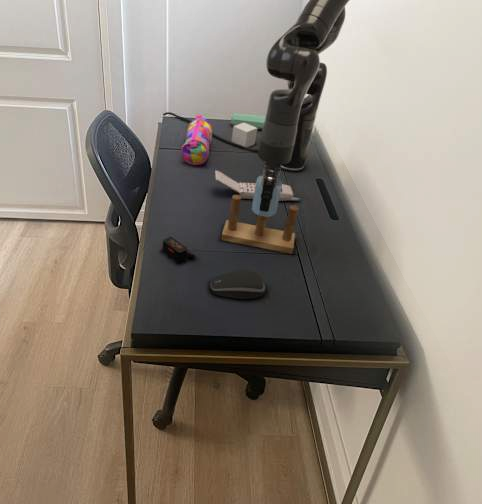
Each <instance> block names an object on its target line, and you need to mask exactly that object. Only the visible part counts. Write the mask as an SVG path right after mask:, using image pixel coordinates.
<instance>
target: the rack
mask: <svg viewBox="0 0 482 504" xmlns="http://www.w3.org/2000/svg"><path fill="white" fill-rule="evenodd" d="M241 203H242V198H241V196H240V194H233V195H232V198H231V203H230V210H229V217H228V219H226V221H225V223H224V226H223V229H222V233H221V239H220V240H221V241H225V242H228V243H229V242H230V243H234V244H240V245H243V246H249V247H254V248H260V249H265V250H269V251H274V252H280V253H285V254H290V255H293V253H294V247H295V239H296V238H295V237H296V233H295V232H294V229H295V224H296V220H297V217H298V213H299V207H298V206H297V205H294V204H293V205H292V204H291V205H290V206H289V207H288V211H287V215H286V220H285V225H284V228H283V230H281V229H275V228H271V227H266V223H267V218H268V217H264V216H260V215H257V219H256V224H249V223H245V222H239V221H238V220H239V215H240V209H241Z"/></svg>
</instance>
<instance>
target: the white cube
mask: <svg viewBox="0 0 482 504" xmlns="http://www.w3.org/2000/svg"><path fill="white" fill-rule="evenodd" d="M232 126H233V125H232ZM257 134H258V129H257V128H256V127H254V126H251V125H249V124H246V123H241V124H239V125H236V126H233V127H232V134H231V142H233V143H236V144H239V145H242V146H244V147H247V148H250V147H252V146H254V145H256V139H257Z"/></svg>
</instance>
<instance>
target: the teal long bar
mask: <svg viewBox="0 0 482 504" xmlns="http://www.w3.org/2000/svg"><path fill="white" fill-rule="evenodd" d="M265 119H266V115H258V114H248V113H242V112H241V113H240V112H235V113H233V114H232V116H231V118H230V121H231V126H236V125H239V124H241V123H246V124H249V125H251V126H254V127H256V128H257V130H258V131H259V130H261V131H262V130H263V125H264V122H265Z"/></svg>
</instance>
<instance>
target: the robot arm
mask: <svg viewBox="0 0 482 504" xmlns="http://www.w3.org/2000/svg"><path fill="white" fill-rule="evenodd" d="M349 2H350V0H308V1H307V3H306V5H305V6H304V8H303V10H302V11H301V13H300V15H299V16H298V18H297V20H296V22H295V23H294V24H293V25H292V26H291V27H290V28H289V29H288V30H286V31H285V32H284V33H283V34H282V35H281V36H280V37H279V38H278V39H277V40H276V42H274V44H273V45H272V46H271V48H270V49H269V52H268V54H267V55H266V56H267V57H266V61H265V65H266V70H267V72H268V74H269V75H270V76H271V77H274V78H277V79H279V80H284V81H286V82H287V84H286V85H287V88H285V89H284V88H281V89H275V90H273V91H272V92H271V93H270V95H269V97H268V102H267V109H266V115H265V116H266V119H265V122H264V125H263V130H261V136H260V142H259V148H257V149H256V148H251V147H244V146H242V145H239V144H236V143H233V142H231V141H232V140H231V141H230V140H228V139H225V138H223V137H221V136H219V135H217V134H215V133H214V132H212V137H215V138H217V139H218V140H221V141H223V142H224V143H227V144H229V145H233V146H235V147H238V148H241V149H244V150H247V151H250V152H254V153H255V152H257V153H258V158H259V159H260V160H261V161H263V162H264V164H263V168H262V176H263V179H262V184H261V186H262V187H263V189H262V193H261V196H260V197H261V203H260V208H259V209H260V211H264V212H268V211H269V206H270V201H271V199H272V197H273V195H272V194H273V189H275V188H276V185H277V180H278V178H279V177H280V175H281V171H282V170H283V171H288V172H300V171H303V170H304V169H305V165H306V161H307V156H308V151H309V147H310V142H311V139H312V135H313V130H314V126H315V122H316V118H317V113H318V109H319V106H320V101H321V98H322V94H323V92H324V89H325V85H326V82H327V81H326V80H327V75H328V68H327V67H328V66H327V65H326V63H324V62H321V60H320V54H321V53H322V52H325V50H327V49H328V48H330V47H331V46H332V45H333V44H334V43H335V42H336V41H337V40H338V37H339V35H340V32H341V30H342V28H343V26H344V23H345V20H346V6H347V4H348V3H349ZM166 115H171V116H173V117H175V118H177V119H180V120H183V121H185V122H188V123H189V124H190V123H191V122H192V121H193V120H191V119H188V118H186V117H183V116H181V115H178V114H176V113H173V112H170V111H166V112H164V113H163V114H162V116H166ZM264 191H269V192H271V194H270V193H266V192H264Z"/></svg>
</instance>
